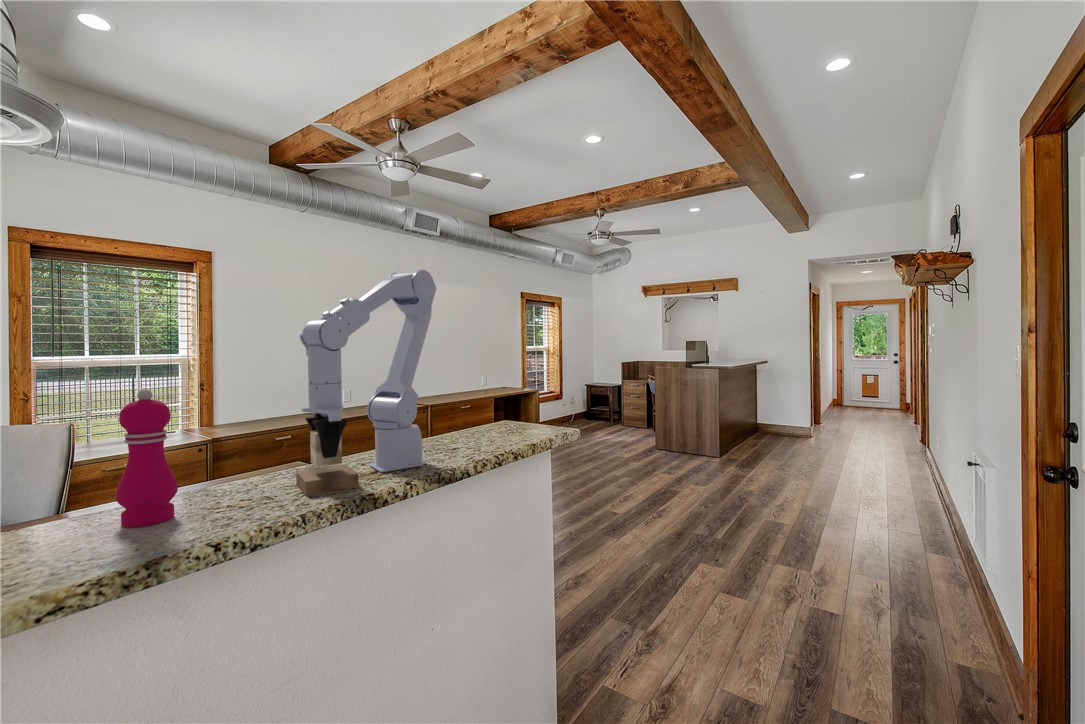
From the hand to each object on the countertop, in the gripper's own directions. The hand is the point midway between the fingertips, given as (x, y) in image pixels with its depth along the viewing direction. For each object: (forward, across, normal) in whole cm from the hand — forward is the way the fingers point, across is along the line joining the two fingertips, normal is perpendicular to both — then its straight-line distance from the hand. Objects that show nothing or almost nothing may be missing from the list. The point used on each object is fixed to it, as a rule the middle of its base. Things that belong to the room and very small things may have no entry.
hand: (326, 454), depth 90 cm
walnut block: (+6, 0, 0) cm, 6 cm away
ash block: (+2, 0, 0) cm, 2 cm away
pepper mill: (+6, +2, -26) cm, 27 cm away
